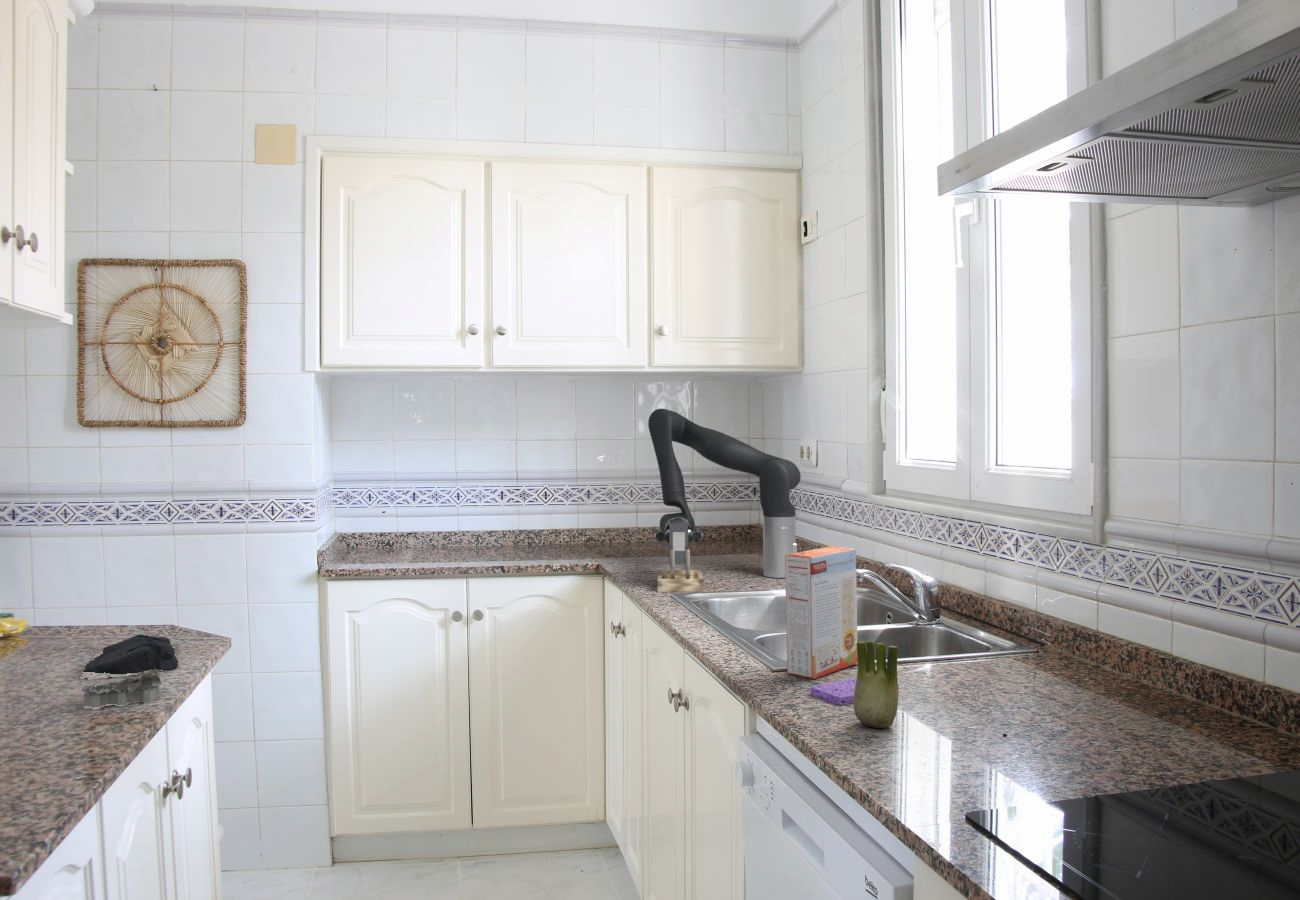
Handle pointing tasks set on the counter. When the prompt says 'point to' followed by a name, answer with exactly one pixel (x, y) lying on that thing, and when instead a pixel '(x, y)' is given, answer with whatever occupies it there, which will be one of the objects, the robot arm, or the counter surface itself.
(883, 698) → the fennel bulb
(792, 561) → the cracker box
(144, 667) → the dark slate chunk
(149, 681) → the egg carton
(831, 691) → the sponges
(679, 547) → the block
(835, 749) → the counter surface
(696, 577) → the wooden rack with posts
